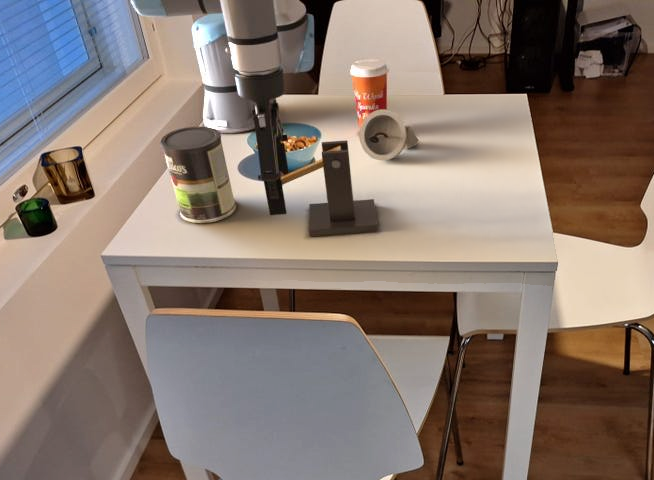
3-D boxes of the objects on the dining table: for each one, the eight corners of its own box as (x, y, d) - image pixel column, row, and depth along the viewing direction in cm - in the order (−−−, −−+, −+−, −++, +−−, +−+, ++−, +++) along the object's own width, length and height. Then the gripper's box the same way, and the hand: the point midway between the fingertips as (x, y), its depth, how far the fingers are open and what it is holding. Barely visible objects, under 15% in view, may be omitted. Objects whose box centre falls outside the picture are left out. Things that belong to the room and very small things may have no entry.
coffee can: (199, 229, 120) (178, 154, 111) (170, 211, 126) (149, 138, 117) (247, 209, 126) (231, 136, 116) (218, 192, 131) (201, 121, 122)
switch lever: (276, 197, 114) (269, 185, 112) (278, 182, 118) (271, 170, 117) (346, 167, 112) (340, 154, 110) (345, 153, 116) (339, 140, 115)
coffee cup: (350, 138, 150) (344, 69, 140) (361, 125, 156) (356, 57, 146) (386, 141, 148) (382, 71, 139) (396, 127, 154) (393, 59, 145)
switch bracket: (309, 236, 117) (298, 161, 108) (310, 210, 125) (299, 137, 116) (377, 231, 118) (372, 156, 109) (374, 205, 125) (368, 133, 117)
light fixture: (418, 166, 148) (422, 118, 145) (397, 160, 132) (402, 106, 130) (371, 162, 150) (375, 115, 148) (345, 155, 134) (349, 102, 132)
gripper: (241, 47, 112) (263, 167, 126) (224, 96, 93) (252, 232, 107) (286, 44, 113) (303, 164, 126) (278, 93, 94) (300, 228, 107)
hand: (280, 195), depth 117 cm, fingers open, 13 cm apart
